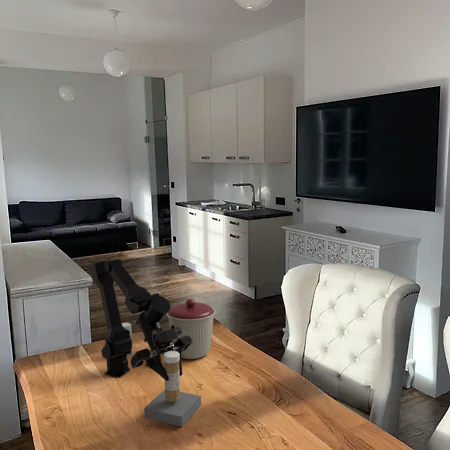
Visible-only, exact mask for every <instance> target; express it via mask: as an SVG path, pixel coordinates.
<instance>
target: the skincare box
mask: <svg viewBox="0 0 450 450" xmlns="http://www.w3.org/2000/svg"><path fill="white" fill-rule="evenodd" d="M122 326H123V327H124V328H125V329H126V330H127V329H128V330H129V331H130V337H131V339H132V340H133V338H132V337H133V334H132V324H131V323H129V322H128V321H127V322H126V321H125V322H122ZM132 357H133V348H132V349H131V354H127V358H132Z"/></svg>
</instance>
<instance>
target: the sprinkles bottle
mask: <svg viewBox="0 0 450 450" xmlns="http://www.w3.org/2000/svg"><path fill="white" fill-rule="evenodd" d="M162 355H163V362H164V365H163V366H164V368H165V371H166V373H167V375H168V378H169V380H168V381H166V380H164V379H163V380H164V389H165V399H166V400H168V401H176V400H178V399H179V398H180V392H181V378H180V377H181V376H180V370H179V360H180V355H179V353H178V352H176V351H169V352H166V353H164V354H162Z"/></svg>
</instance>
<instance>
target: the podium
mask: <svg viewBox="0 0 450 450" xmlns="http://www.w3.org/2000/svg"><path fill="white" fill-rule="evenodd" d="M201 406H202V395H199V394H195V393H188V392H183V391H180V398H179V399H178V400H176V401H168V400H166V399H165V388H164V389H163V390H162V391H161V392H160V393H159V394H157V396H156V397H154V399H152V400H151V401H150V402H149V403H148V404H146V406H144V407H143V414H144V415H143V416H144V418H143V419H147V420H151V421H156V422H159V423H163V424H168V425H173V426H178V427H181V428H182V427H184V426H185V425H186V423H187V422H188V421H189V420H190V419H191V418H192V417H193V415H195V413H196V412H197V411H198V410H199V408H200V407H201Z"/></svg>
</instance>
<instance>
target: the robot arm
mask: <svg viewBox="0 0 450 450" xmlns="http://www.w3.org/2000/svg"><path fill="white" fill-rule="evenodd" d="M88 272H89V274H90V277H91V280H92V282H93V283H94V284H95V285H96V286H97V287H98V289H99V293H100V298H101V303H102V308H103V312H104V313H103V314H104V317H105V321H106V327H107V332H106V334H105V336H104V342H105V344H104V345H103V347H102V348H101V351H100V352H101V356H102V358H103V359H105V360H106V371H105V372H104V375H105V376H110V377H114V378H122V377H123V376H124V375H125V374H127V373H128V372H130V371H131V368H132V369H136V368H139V367H142V366H143V364H144V362H145V365H144V367H145V368H148V369H150V370H152V371H153V372H155V373H156V374H157V375H158V376H160V378H162V379H163V380H166V381H168V380H169V378H168V375H167V373H166V371H165V368H164V365H163V363H162V358H161V355H164V353H166V352H169V351H176V352H178V353H179V355H180V360H179V370H180V377H182V376H183V365H182V358H181V353H182V352H183V351H185V350H187V349H188V348H189V347H190V345H191V344H192V343H193V341H192V339H191V337H190V336H188V335H187V336H184V337H181V338H178V335H179V334H181V333H182V331H181V328H180V326H179V324H175V325H171V329H170V328H169V329H167V327H165V326H162V324H161V322H162V321H163V320H164V318H165V317H166V316H167V315H166V314H167V313H168V311H169V310H170V308H172V306H171V302H170V300H168V299H167V298H166V297H164V296H161V295H160V293H159V292H157V293H153V294H151V293H150V292H149V290H147V289H146V288H145V287H143V286H140V285H138V284H137V282H136V281H135V280H134V278H133V277H132V275H130V273H129V272H128V270H127V269H126V268H125V266H124V264H123V262H122V259H119V258H114V259H110V258H109V259H101V260H96V261H95V260H94V261H92V262H91V264H90V265H89V267H88ZM114 283H116V285H117V286H118V288H119V289H120V290H121V292H122V293H123V295H124V296H125V297H124V298H125V299H124V304H125V306H126V308H127V310H128V311H129V312H130V313H131V314H135V315H136V314H138V313H140V314H139V315H137V316H136V320H135V325H136V326H137V325H139V327H140V329H141V331H142V333H143V335H144V338H143V341H144V343H147V345H148V347H149V348H147V347H146V348H144V349H143V348H142V349H140V350H137V351H135V353H134V354H132V356H131V357H130V358H131V359H130V364H131V368H130V367H129V359H128V357H127V354H131V349H132V350H133V338H132V339H131V337H130V331H129V330H128V329H127V330H126V329H125V328H124V327H123V326H122V323H123V322H122V318H121V314H120V309H119V305H118V299H117V295H116V291H115V286H114ZM173 339H177V340H176V342H175V343H174V344H172V342H173Z"/></svg>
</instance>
